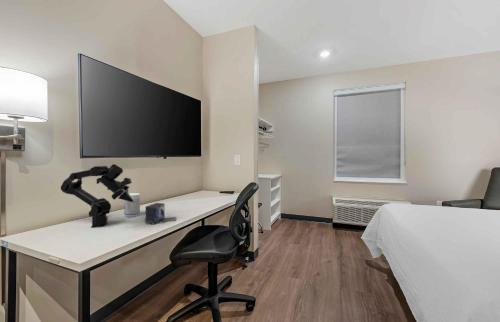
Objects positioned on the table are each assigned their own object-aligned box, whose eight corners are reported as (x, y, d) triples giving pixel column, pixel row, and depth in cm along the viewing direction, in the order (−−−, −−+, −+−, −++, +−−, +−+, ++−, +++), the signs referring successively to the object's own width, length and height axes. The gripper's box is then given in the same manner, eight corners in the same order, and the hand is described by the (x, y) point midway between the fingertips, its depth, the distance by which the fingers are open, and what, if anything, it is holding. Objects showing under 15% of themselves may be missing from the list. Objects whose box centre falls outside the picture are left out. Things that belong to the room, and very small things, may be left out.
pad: (162, 222, 127) (162, 221, 127) (162, 218, 134) (162, 218, 134) (176, 220, 130) (176, 220, 130) (175, 217, 137) (175, 217, 137)
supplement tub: (123, 215, 141) (123, 193, 141) (138, 212, 147) (138, 192, 147) (124, 218, 134) (124, 196, 133) (141, 216, 139) (141, 194, 139)
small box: (154, 224, 122) (154, 207, 121) (144, 224, 123) (144, 206, 123) (165, 219, 132) (165, 203, 132) (156, 218, 133) (156, 202, 133)
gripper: (118, 174, 112) (141, 193, 116) (125, 172, 129) (145, 189, 133) (101, 189, 109) (125, 208, 113) (111, 185, 127) (131, 202, 131)
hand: (132, 201), depth 123 cm, fingers closed
